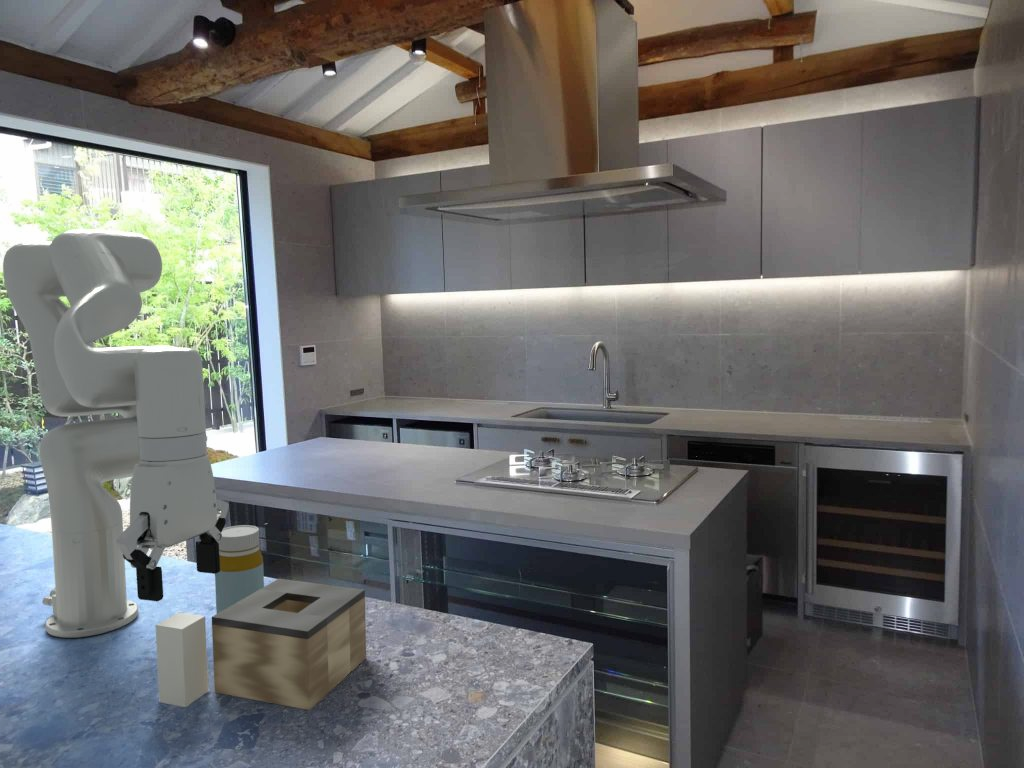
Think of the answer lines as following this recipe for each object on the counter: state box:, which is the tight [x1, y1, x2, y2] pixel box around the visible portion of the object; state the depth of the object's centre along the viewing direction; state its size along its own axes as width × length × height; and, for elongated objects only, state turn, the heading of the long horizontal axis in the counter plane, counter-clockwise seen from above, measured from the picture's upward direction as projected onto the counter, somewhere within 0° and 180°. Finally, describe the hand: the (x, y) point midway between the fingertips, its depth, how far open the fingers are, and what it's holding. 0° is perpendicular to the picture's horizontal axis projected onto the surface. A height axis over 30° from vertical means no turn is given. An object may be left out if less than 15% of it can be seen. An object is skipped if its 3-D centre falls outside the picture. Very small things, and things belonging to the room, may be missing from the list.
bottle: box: [214, 524, 265, 614], centre depth 112 cm, size 7×7×15 cm
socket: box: [211, 578, 367, 711], centre depth 96 cm, size 14×14×10 cm
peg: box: [155, 611, 209, 708], centre depth 91 cm, size 4×4×10 cm
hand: (181, 585), depth 90 cm, fingers open, 9 cm apart
